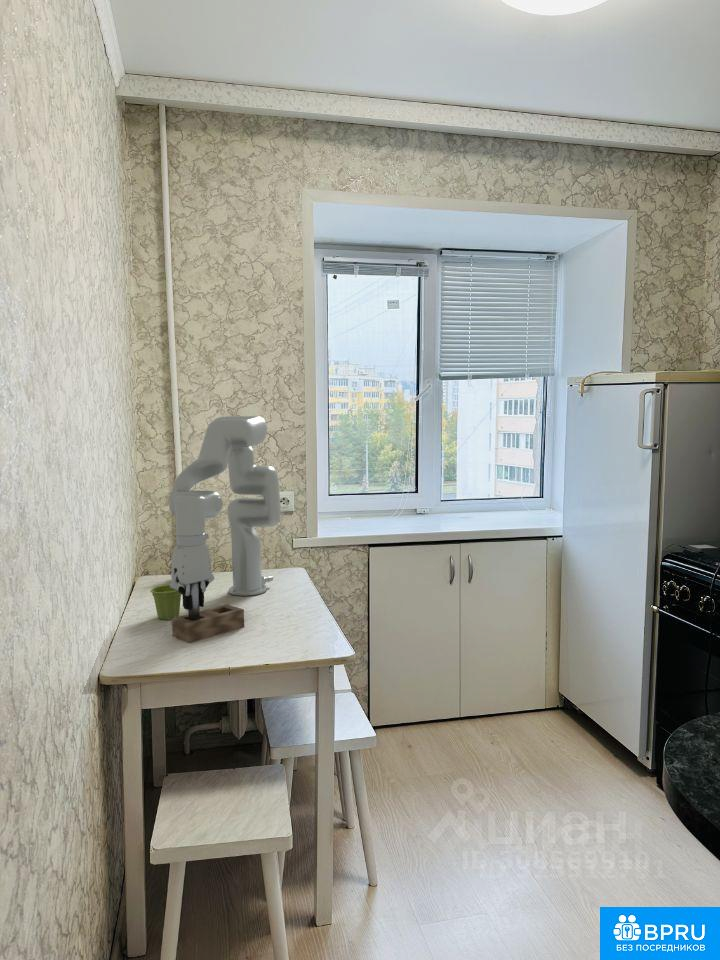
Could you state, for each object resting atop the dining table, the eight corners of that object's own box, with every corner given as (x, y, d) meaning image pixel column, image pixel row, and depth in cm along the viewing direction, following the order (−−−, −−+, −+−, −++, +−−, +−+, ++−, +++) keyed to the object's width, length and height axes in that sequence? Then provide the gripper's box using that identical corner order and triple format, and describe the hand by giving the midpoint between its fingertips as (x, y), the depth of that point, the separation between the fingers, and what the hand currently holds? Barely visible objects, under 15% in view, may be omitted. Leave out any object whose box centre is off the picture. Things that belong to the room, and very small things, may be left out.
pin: (196, 616, 188) (194, 580, 187) (202, 618, 186) (200, 582, 185) (186, 618, 186) (184, 582, 185) (192, 621, 183) (191, 584, 182)
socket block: (227, 621, 199) (227, 604, 198) (244, 626, 193) (243, 609, 193) (172, 636, 186) (171, 618, 185) (189, 643, 180) (188, 624, 180)
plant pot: (151, 614, 207) (150, 586, 206) (183, 610, 210) (182, 583, 209) (152, 623, 198) (150, 593, 197) (185, 619, 201) (184, 590, 200)
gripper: (208, 534, 192) (211, 599, 194) (156, 543, 180) (159, 611, 182) (224, 537, 187) (227, 603, 189) (171, 546, 175) (174, 617, 177)
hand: (193, 607), depth 185 cm, fingers closed on pin, 3 cm apart
